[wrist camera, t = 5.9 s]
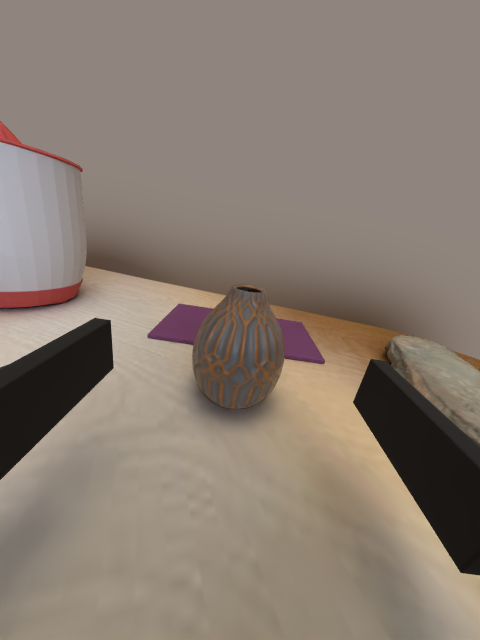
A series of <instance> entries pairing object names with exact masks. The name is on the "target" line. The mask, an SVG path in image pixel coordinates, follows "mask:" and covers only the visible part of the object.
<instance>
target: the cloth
mask: <svg viewBox="0 0 480 640" xmlns="http://www.w3.org/2000/svg"><path fill="white" fill-rule="evenodd" d="M212 310H213V309H211V308H204V307H198V306H191V305H184V304H178V305H177V306H176V307H175V308H174V309H173V310H172V311H171V312H170V313H169V314H168V315H167V316H166V317H165V318H164V319H163V320H162V321H161V322H160V323H159V324H158V325H157V326H156V327H155V328H154V329H153V330H152V331H151V332H150V333H149V334H148V338H154V339H161V340H168V341H174V342H181V343H188V344H194V341H195V337H196V334H197V332H198V329H199V327H200V325H201V323H202V322H203V320H204V319H205V318H206V316H207V315H208V314H209V313H210V312H211V311H212ZM277 321H278V323H279V325H280V328H281V330H282V333H283V338H284V346H285V356H284V358H288V359H294V360H301V361H308V362H314V363H321V364H324V363H325V360H324V359H323V357H322V355H321V354H320V352H319V350H318V349H317V347H316V345H315V344H314V342H313V340H312V339H311V337H310V336H309V334H308V332H307V331H306V329H305V327H304V326H303V324H302V322H296V321H289V320H283V319H277Z"/></svg>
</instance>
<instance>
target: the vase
mask: <svg viewBox="0 0 480 640" xmlns="http://www.w3.org/2000/svg"><path fill="white" fill-rule="evenodd" d="M284 356H285V346H284V338H283V333H282V330H281V328H280V325H279V323H278V321H277V319H276V317H275V315H274V314H273V312H272V310H271V308H270V305H269V302H268V298H267V293H266V291H265V290H264V289H262V288H259V287H256V286H251V285H243V284H237V285H233V286H232V287H231V289H230V291H229V292H228V294H227V296H226V297H225V298H224V299H223V300H222V301H221V302H220V303H219V304H218V305H217V306H216V307H215V308H214V309H213V310H212V311H211V312H210V313H209V314H208V315H207V316H206V318H205V319H204V320H203V322H202V323H201V325H200V327H199V329H198V332H197V334H196V337H195V341H194V345H193V355H192V361H193V370H194V375H195V378H196V381H197V383H198V385H199V387H200V389H201V390H202V392H203V393H204V394H205V395H206V396H207V397H208V398H209V399H210V400H212V401H213V402H214V403H216V404H218V405H220V406H222V407H225V408H229V409H242V408H247V407H250V406H253V405H255V404H257V403H259V402H260V401H262V400H263V399H265V398H266V397H267V396H268V395H269V393H270V392H271V391H272V389H273V388H274V387H275V385H276V383H277V381H278V379H279V377H280V374H281V371H282V367H283V363H284Z"/></svg>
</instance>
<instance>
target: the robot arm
mask: <svg viewBox="0 0 480 640" xmlns="http://www.w3.org/2000/svg"><path fill="white" fill-rule="evenodd" d="M112 369H113V352H112V335H111V320H105V319H98V318H94V319H92V320H90V321H89V322H87V323H85V324H83V325H81V326H79V327H77V328H76V329H74V330H72V331H70V332H68V333H66V334H65V335H63V336H61V337H59V338H57V339H55V340H53V341H52V342H50V343H48V344H46V345H44V346H42V347H41V348H39V349H37V350H35V351H33V352H31V353H29V354H28V355H26V356H24V357H22V358H20V359H18V360H17V361H15V362H13V363H11V364H9V365H6V366H3V367H0V480H1V479H2V478H3V477H4V476H5V475H6V474H7V473H8V472H9V471H10V470H11V469H12V468H13V467H14V466H15V465H16V464H17V463H18V462H19V461H20V460H21V459H22V458H23V457H24V456H25V455H26V454H27V453H28V452H29V451H30V450H31V449H32V448H33V447H34V446H35V445H36V444H37V443H38V442H39V441H40V440H41V439H42V438H43V437H44V436H45V435H46V434H47V433H48V432H49V431H50V430H51V429H52V428H53V427H54V426H55V425H56V424H57V423H58V422H59V421H60V420H61V419H62V418H63V417H64V416H65V415H66V414H67V413H68V412H69V411H70V410H71V409H72V408H73V407H74V406H76V405H77V404H78V403H79V402H80V401H81V400H82V399H83V398H84V397H85V396H86V395H87V394H88V393H89V392H90V391H91V390H92V389H93V388H94V387H95V386H96V385H97V384H98V383H99V382H100V381H101V380H102V379H103V378H104V377H105V376H106V375H107V374H108V373H109V372H110V371H111V370H112ZM353 403H354V405H355V406H356V408H357V409H358V411H359V413H360V414H361V416H362V417H363V419H364V420H365V422H366V424H367V425H368V427H369V428H370V430H371V432H372V433H373V435H374V436H375V438H376V439H377V441H378V443H379V444H380V446H381V447H382V449H383V451H384V452H385V454H386V455H387V457H388V458H389V460H390V462H391V463H392V465H393V466H394V468H395V469H396V471H397V473H398V474H399V476H400V477H401V479H402V481H403V482H404V484H405V485H406V487H407V488H408V490H409V492H410V493H411V495H412V496H413V498H414V500H415V501H416V503H417V504H418V506H419V507H420V509H421V511H422V512H423V514H424V515H425V517H426V519H427V520H428V522H429V523H430V525H431V526H432V528H433V530H434V531H435V533H436V534H437V536H438V537H439V539H440V541H441V542H442V544H443V545H444V547H445V549H446V550H447V552H448V553H449V555H450V556H451V558H452V560H453V561H454V563H455V564H456V566H457V568H458V569H459V571H460V572H461V573H466V574H474V575H480V444H479V443H478V442H477V441H476V440H474V439H473V438H471V437H470V436H468V435H467V434H465V433H464V432H463V431H462V430H460V429H459V428H458V427H457V426H456V425H455V424H454V423H453V422H452V421H451V420H450V419H448V418H447V417H446V416H445V415H444V414H443V413H442V412H441V411H440V410H439V409H437V408H436V407H435V406H434V405H433V404H432V403H431V402H430V401H429V400H428V399H426V398H425V397H424V396H423V395H422V394H421V393H420V392H419V391H418V390H417V389H415V388H414V387H413V386H412V385H411V384H410V383H409V382H408V381H407V380H406V379H405V378H403V377H402V376H401V375H400V374H399V373H398V372H397V371H396V370H395V369H394V368H392V367H391V366H390V365H389V364H388V363H387V362H386V361H380V360H374V359H371V360H370V362H369V365H368V367H367V370H366V372H365V375H364V377H363V379H362V382H361V384H360V387H359V389H358V392H357V394H356V397H355V399H354V401H353Z"/></svg>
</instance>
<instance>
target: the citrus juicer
mask: <svg viewBox="0 0 480 640" xmlns="http://www.w3.org/2000/svg"><path fill="white" fill-rule="evenodd" d="M82 171H83V170H82V168H81V167H80V166H79V165H77V164H75V163H73V162H71V161H69V160H67V159H64V158H61V157H59V156H56V155H53V154H51V153H48V152H45V151H42V150H39V149H36V148H33V147H30V146H27V145H24V144H22V143H21V142H20V141H19V140H18V139H17V138H16V137H15V135H14V134H13V133H12V132H11V131H10V130H9V129H8V128H7V127H6V126H5V125H4V124H3V123H2V122H1V121H0V308H13V307H30V306H40V305H47V304H58V303H64V302H66V301H67V300H68V299H71V298H73V297H74V296H76V295H77V293H78V291H79V288H80V286H81V283H82V280H83V279H82V277H83V273H84V269H85V262H86V253H87V252H86V251H87V248H86V229H85V219H84V207H83V197H82V185H81V174H80V172H82Z"/></svg>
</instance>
